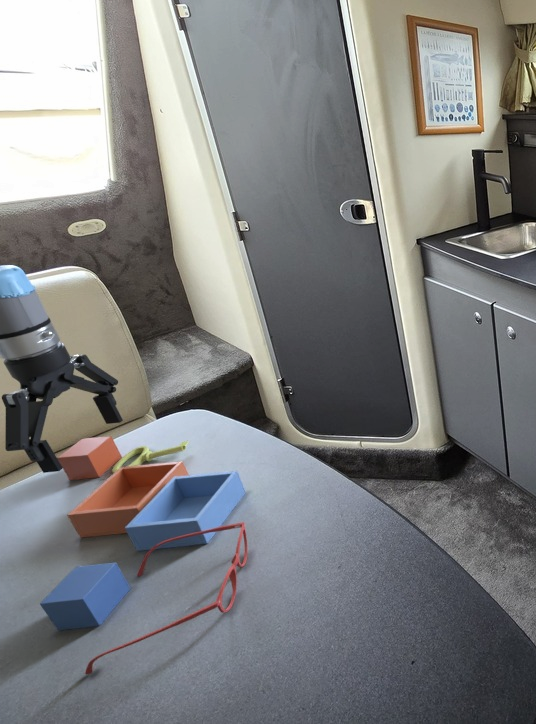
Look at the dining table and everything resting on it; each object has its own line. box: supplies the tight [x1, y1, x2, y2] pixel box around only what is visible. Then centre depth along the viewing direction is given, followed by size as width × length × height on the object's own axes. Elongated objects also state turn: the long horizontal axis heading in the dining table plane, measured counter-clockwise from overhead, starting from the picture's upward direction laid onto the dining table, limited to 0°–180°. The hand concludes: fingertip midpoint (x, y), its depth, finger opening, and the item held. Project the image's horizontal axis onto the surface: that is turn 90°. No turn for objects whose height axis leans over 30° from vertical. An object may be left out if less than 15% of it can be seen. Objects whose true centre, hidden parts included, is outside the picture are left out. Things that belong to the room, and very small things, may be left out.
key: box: [111, 440, 190, 475], centre depth 100 cm, size 7×12×2 cm, turn 122°
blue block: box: [39, 562, 132, 631], centre depth 70 cm, size 6×6×6 cm
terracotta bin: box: [66, 461, 190, 538], centre depth 87 cm, size 11×11×5 cm
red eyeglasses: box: [84, 521, 248, 675], centre depth 71 cm, size 17×16×5 cm
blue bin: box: [125, 470, 247, 552], centre depth 84 cm, size 11×11×5 cm
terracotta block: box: [57, 435, 123, 481], centre depth 97 cm, size 6×6×6 cm
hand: (86, 444), depth 96 cm, fingers open, 13 cm apart
